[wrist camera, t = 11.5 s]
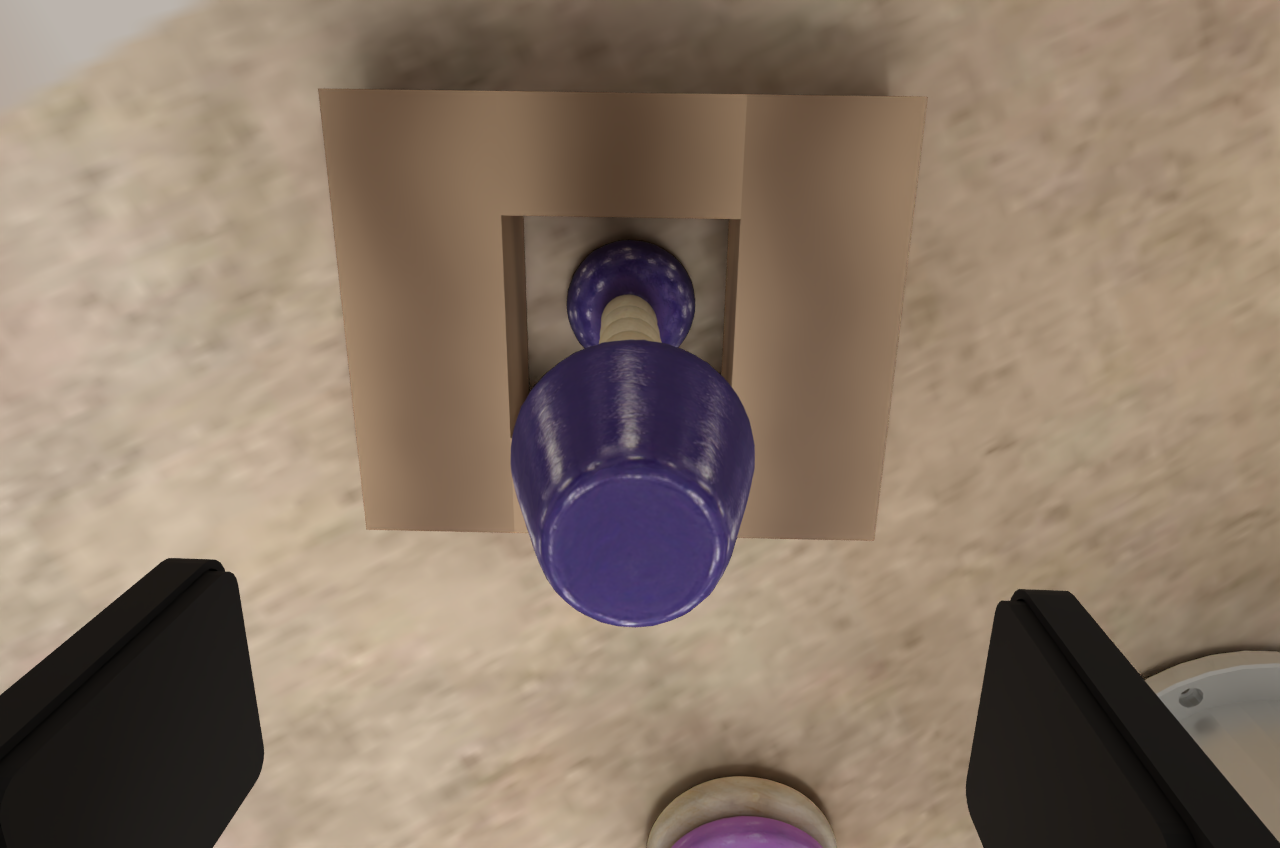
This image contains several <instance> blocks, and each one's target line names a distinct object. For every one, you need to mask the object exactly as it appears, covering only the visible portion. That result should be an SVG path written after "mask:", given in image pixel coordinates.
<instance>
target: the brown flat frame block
mask: <svg viewBox="0 0 1280 848" xmlns="http://www.w3.org/2000/svg"><path fill="white" fill-rule="evenodd" d="M318 91H319V101H320V110H321V119H322V128H323V137H324V146H325V155H326V164H327V174H328V183H329V192H330V201H331V210H332V219H333V228H334V238H335V247H336V256H337V265H338V274H339V283H340V292H341V301H342V311H343V320H344V329H345V338H346V347H347V356H348V365H349V374H350V384H351V393H352V402H353V411H354V420H355V429H356V438H357V448H358V457H359V466H360V475H361V484H362V493H363V502H364V511H365V521H366V530H410V531H455V532H500V533H529V532H528V530H527V527H526V524H525V521H524V517H523V514H522V511H521V508H520V505H519V502H518V499H517V495H516V492H515V488H514V483H513V478H512V473H511V442H512V435H513V431H514V426H515V423H516V420H517V417H518V414H519V412H520V409H521V406H522V404H523V403H524V401H525V400H526V398H527V396H528V395H529V366H528V336H527V307H526V277H525V247H524V218H523V216H574V217H637V218H701V219H729V228H728V248H727V269H726V290H725V311H724V332H723V353H722V374H721V376H723V377H724V378H725V380H726V381H727V382H728V383H729V384H730V385H731V387H732V388H733V389H734V391H735V392H736V394H737V395H738V397H739V399H740V401H741V402H742V404H743V406H744V408H745V411H746V414H747V416H748V418H749V421H750V425H751V429H752V434H753V439H754V444H755V469H754V474H753V479H752V483H751V488H750V493H749V497H748V501H747V505H746V509H745V512H744V515H743V518H742V522H741V525H740V529H739V532H738V536H737V538H772V539H818V540H863V541H874V538H875V529H876V521H877V513H878V504H879V496H880V488H881V480H882V471H883V463H884V455H885V447H886V438H887V430H888V422H889V413H890V405H891V397H892V389H893V380H894V372H895V364H896V355H897V347H898V339H899V331H900V322H901V314H902V306H903V298H904V289H905V281H906V273H907V264H908V256H909V248H910V240H911V231H912V223H913V215H914V206H915V198H916V190H917V182H918V173H919V165H920V157H921V149H922V140H923V132H924V124H925V115H926V107H927V99H928V97H914V96H839V95H764V94H689V93H614V92H539V91H463V90H388V89H318Z"/></svg>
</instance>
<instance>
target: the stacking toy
mask: <svg viewBox="0 0 1280 848" xmlns="http://www.w3.org/2000/svg"><path fill="white" fill-rule="evenodd" d="M647 848H837V844H836V839H835V836H834V833H833V830H832V828H831V826H830V824H829V822H828V821H827V819H826V817H825V816H824V815H823V813H822V812H821V811H820V809H819V808H818V807H817V806H816V805H815V804H814V803H813V802H812V801H811V800H810V799H808V798H807V797H806V796H804V795H803V794H801V793H800V792H798V791H797V790H795V789H793V788H791V787H789V786H786V785H784V784H781V783H778V782H775V781H771V780H767V779H762V778H756V777H745V776H735V777H724V778H718V779H714V780H710V781H707V782H704V783H701V784H699V785H697V786H695V787H693V788H691V789H689V790H687V791H686V792H684V793H682V794H681V795H679V796H678V797H677V798H676V799H674V800H673V801H672V802H671V803H670V804H669V805H668V806H667V807H666V808H665V809H664V810H663V812H662V813H661V814H660V815H659V817H658V819H657V820H656V822H655V823H654V825H653V827H652V829H651V832H650V835H649V838H648V842H647Z"/></svg>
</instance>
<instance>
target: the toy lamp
mask: <svg viewBox="0 0 1280 848" xmlns="http://www.w3.org/2000/svg"><path fill="white" fill-rule="evenodd" d="M567 313H568V318H569V322H570V325H571V328H572V330H573V332H574V334H575V336H576V338H577V339H578V341H579V343H580V344H581V345H582V346H583V347H584V348H585V349H583V350H580V351H578V352H575V353H573V354H572V355H570V356H569V357H567V358H566V359H564V360H562V361H561V362H559V363H558V364H557V365H556V366H555V367H553V368H552V369H551V370H550V371H548V372H547V373H546V374H545V375H544V376H543V377H542V378H541V379H540V381H539V382H538V383H537V384H536V385H535V386H534V387H533V389H532V390H531V391H530V393H529V395H528V396H527V398H526V400H525V401H524V403H523V404H522V406H521V409H520V412H519V414H518V417H517V420H516V423H515V426H514V431H513V435H512V442H511V473H512V478H513V483H514V488H515V492H516V495H517V499H518V502H519V505H520V508H521V511H522V514H523V517H524V521H525V524H526V527H527V530H528V532H529V535H530V538H531V541H532V545H533V547H534V550H535V553H536V556H537V558H538V561H539V564H540V566H541V568H542V570H543V572H544V574H545V576H546V578H547V580H548V581H549V583H550V584H551V586H552V587H553V589H554V590H555V591H556V592H557V593H558V594H559V595H560V596H561V597H562V598H563V599H564V600H565V601H566V602H567V603H568V604H569V605H571V606H572V607H573V608H574V609H576V610H577V611H579V612H581V613H583V614H584V615H586V616H589V617H591V618H593V619H595V620H597V621H600V622H602V623H607V624H611V625H615V626H623V627H646V626H654V625H658V624H661V623H665V622H668V621H671V620H673V619H676V618H678V617H681V616H683V615H685V614H686V613H688V612H690V611H691V610H692V609H693V608H694V607H696V606H697V605H698V604H699V603H701V602H702V601H703V600H704V599H705V598H707V597H708V596H709V595H710V594H711V592H712V591H713V590H714V588H715V586H716V585H717V583H718V581H719V580H720V578H721V577H722V575H723V573H724V571H725V569H726V567H727V565H728V563H729V561H730V558H731V556H732V553H733V549H734V545H735V542H736V539H737V536H738V532H739V529H740V525H741V522H742V518H743V515H744V512H745V509H746V505H747V501H748V497H749V493H750V488H751V483H752V479H753V474H754V469H755V444H754V439H753V434H752V429H751V425H750V421H749V418H748V416H747V414H746V411H745V408H744V406H743V404H742V402H741V401H740V399H739V397H738V395H737V394H736V392H735V391H734V389H733V388H732V387H731V385H730V384H729V383H728V382H727V381H726V380H725V378H724V377H723V376H721V375H720V374H719V373H718V372H717V371H716V370H715V369H714V368H712V367H711V366H710V365H709V364H708V363H707V362H705V361H703V360H702V359H700V358H698V357H697V356H695V355H693V354H692V353H689V352H687V351H685V350H683V349H680V348H678V347H679V346H680V344H681V343H682V342H683V340H684V339H685V337H686V336H687V334H688V332H689V330H690V328H691V325H692V322H693V318H694V313H695V298H694V290H693V286H692V282H691V280H690V278H689V276H688V274H687V272H686V270H685V269H684V267H683V266H682V265H681V264H680V263H679V261H678V260H677V259H676V258H675V257H674V256H672V255H671V254H670V253H668V252H667V251H665V250H663V249H662V248H660V247H658V246H657V245H654V244H651V243H647V242H644V241H634V240H623V241H617V242H613V243H610V244H607V245H605V246H603V247H601V248H598V249H596V250H595V251H593V252H592V253H591V254H590V255H588V256H587V258H586V259H585V260H584V261H583V262H582V263H581V264H580V266H579V268H578V269H577V270H576V272H575V274H574V276H573V278H572V281H571V284H570V287H569V289H568V296H567Z"/></svg>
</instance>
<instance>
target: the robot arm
mask: <svg viewBox="0 0 1280 848" xmlns="http://www.w3.org/2000/svg"><path fill="white" fill-rule="evenodd" d="M263 759H264V746H263V739H262V733H261V727H260V721H259V714H258V708H257V702H256V695H255V689H254V683H253V676H252V670H251V664H250V657H249V651H248V645H247V638H246V632H245V626H244V619H243V613H242V607H241V600H240V594H239V588H238V583H237V579H236V577H235V576H234V574H233V573H231V572H225V569H224V567H223V566H222V564H221V563H220V562H218V561H217V560H209V559H182V558H168V559H166V560H164V561H162V562H161V563H160V564H159V565H157V566H156V567H155V568H154V569H152V570H151V571H150V572H149V573H148V574H146V575H145V576H144V577H143V578H142V579H140V580H139V581H138V582H137V583H136V584H134V585H133V586H132V587H131V588H130V589H128V590H127V591H126V592H125V593H123V594H122V595H121V596H120V597H119V598H117V599H116V600H115V601H114V602H113V603H111V604H110V605H109V606H108V607H107V608H105V609H104V610H103V611H102V612H100V613H99V614H98V615H97V616H96V617H94V618H93V619H92V620H91V621H90V622H88V623H87V624H86V625H85V626H84V627H82V628H81V629H80V630H79V631H77V632H76V633H75V634H74V635H73V636H71V637H70V638H69V639H68V640H67V641H65V642H64V643H63V644H62V645H61V646H59V647H58V648H57V649H56V650H54V651H53V652H52V653H51V654H50V655H48V656H47V657H46V658H45V659H44V660H42V661H41V662H40V663H39V664H38V665H36V666H35V667H34V668H33V669H31V670H30V671H29V672H28V673H27V674H25V675H24V676H23V677H22V678H21V679H19V680H18V681H17V682H16V683H15V684H13V685H12V686H11V687H10V688H8V689H7V690H6V691H5V692H4V693H2V694H1V695H0V848H213V846H214V845H215V843H216V842H217V840H218V839H219V837H220V836H221V834H222V833H223V831H224V830H225V828H226V827H227V825H228V824H229V822H230V821H231V819H232V818H233V816H234V815H235V813H236V811H237V810H238V808H239V807H240V805H241V804H242V802H243V801H244V799H245V798H246V796H247V795H248V793H249V792H250V790H251V789H252V787H253V786H254V784H255V783H256V781H257V779H258V777H259V775H260V772H261V769H262V765H263ZM966 797H967V804H968V809H969V812H970V815H971V818H972V821H973V823H974V825H975V828H976V830H977V833H978V835H979V837H980V840H981V842H982V845H983V847H984V848H1280V652H1277V651H1238V652H1230V653H1223V654H1215V655H1210V656H1206V657H1203V658H1199V659H1195V660H1192V661H1188V662H1185V663H1181V664H1178V665H1176V666H1174V667H1171V668H1169V669H1167V670H1165V671H1162V672H1160V673H1158V674H1156V675H1153V676H1151V677H1149V678H1147V679H1146V680H1144V679H1143V678H1142V677H1141V676H1140V674H1139V673H1138V672H1137V671H1136V670H1135V668H1134V667H1133V666H1132V665H1131V664H1130V662H1129V661H1128V660H1127V659H1126V658H1125V656H1124V655H1123V654H1122V653H1121V652H1120V650H1119V649H1118V648H1117V647H1116V646H1115V644H1114V643H1113V642H1112V641H1111V640H1110V638H1109V637H1108V636H1107V635H1106V634H1105V632H1104V631H1103V630H1102V629H1101V628H1100V626H1099V625H1098V624H1097V623H1096V622H1095V620H1094V619H1093V618H1092V617H1091V616H1090V614H1089V613H1088V612H1087V611H1086V610H1085V608H1084V607H1083V606H1082V605H1081V604H1080V602H1079V601H1078V600H1077V599H1076V598H1075V596H1074V595H1072V594H1071V593H1070V592H1069V591H1053V590H1026V589H1018V590H1017V591H1015V592H1014V594H1013V596H1012V598H1011V601H1001V602H999V603H998V605H997V607H996V611H995V616H994V622H993V628H992V633H991V639H990V645H989V651H988V657H987V663H986V669H985V675H984V680H983V686H982V692H981V698H980V704H979V710H978V716H977V721H976V727H975V733H974V739H973V745H972V751H971V757H970V763H969V768H968V774H967V781H966Z"/></svg>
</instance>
